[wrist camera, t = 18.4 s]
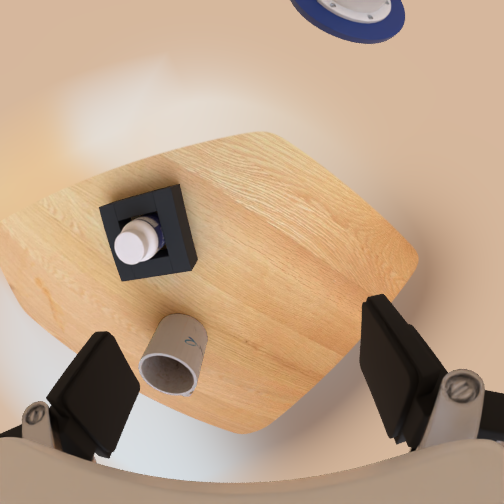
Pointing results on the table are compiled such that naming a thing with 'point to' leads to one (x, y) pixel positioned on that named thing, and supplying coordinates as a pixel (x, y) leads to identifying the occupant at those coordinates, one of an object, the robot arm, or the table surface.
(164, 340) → the mug
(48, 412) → the robot arm
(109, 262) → the table surface
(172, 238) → the socket pad
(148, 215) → the pill bottle
